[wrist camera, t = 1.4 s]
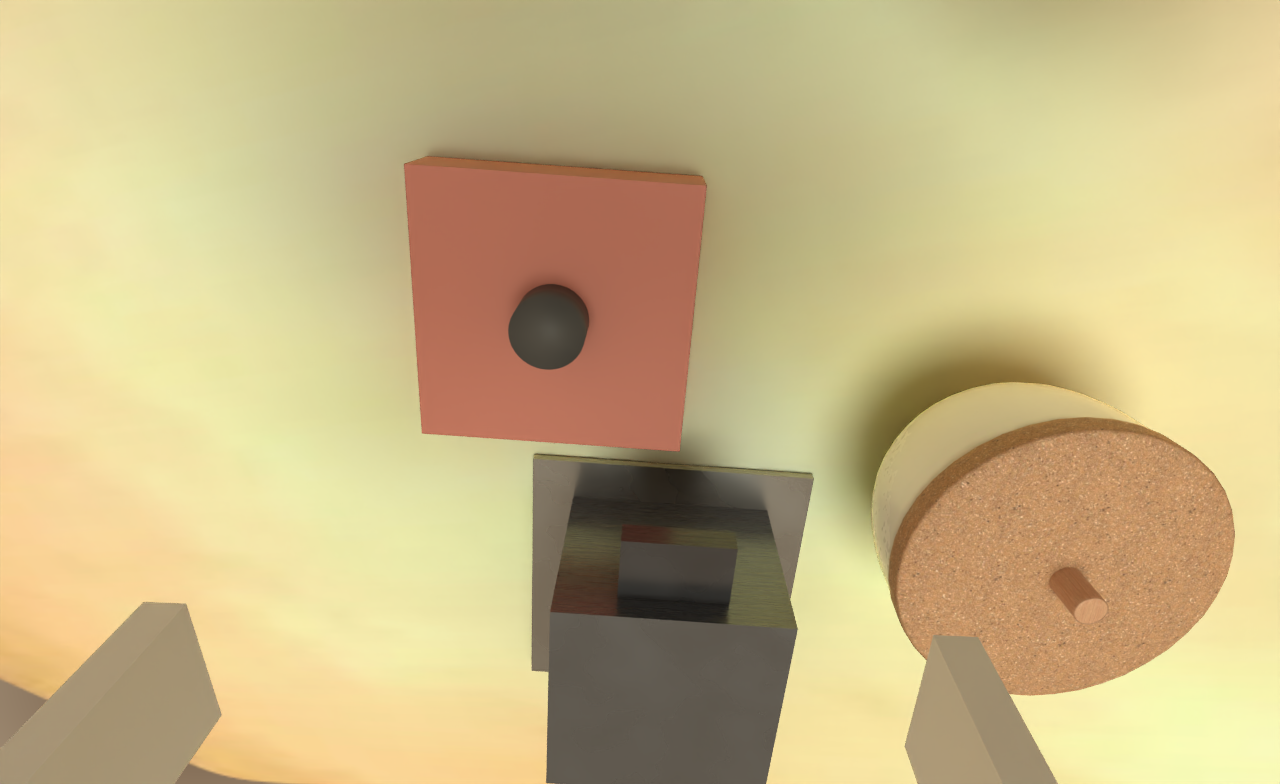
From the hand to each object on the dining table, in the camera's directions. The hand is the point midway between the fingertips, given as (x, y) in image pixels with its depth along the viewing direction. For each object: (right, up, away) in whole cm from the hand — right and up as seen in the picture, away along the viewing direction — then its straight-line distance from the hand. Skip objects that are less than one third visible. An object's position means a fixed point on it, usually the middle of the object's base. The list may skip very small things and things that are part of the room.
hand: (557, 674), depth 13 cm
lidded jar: (+15, +2, +18) cm, 24 cm away
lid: (-2, +9, +15) cm, 18 cm away
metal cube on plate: (+2, -3, +20) cm, 21 cm away
